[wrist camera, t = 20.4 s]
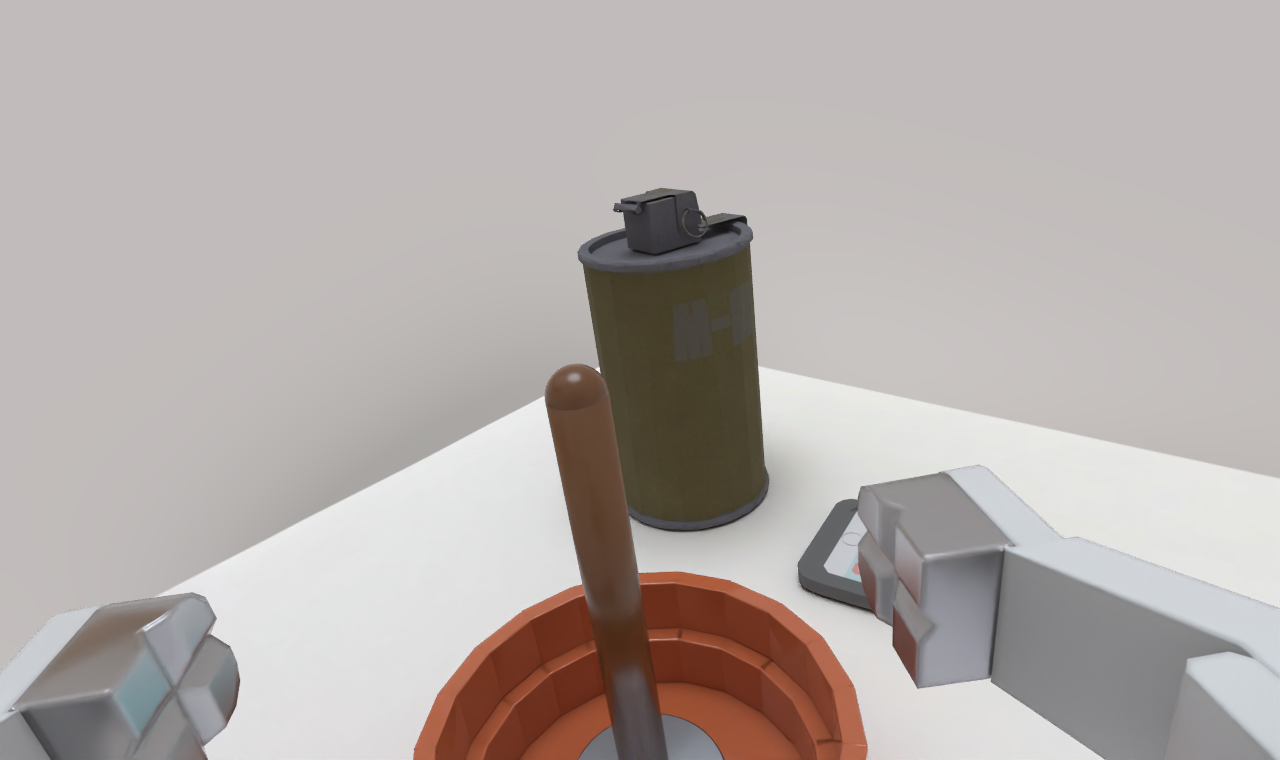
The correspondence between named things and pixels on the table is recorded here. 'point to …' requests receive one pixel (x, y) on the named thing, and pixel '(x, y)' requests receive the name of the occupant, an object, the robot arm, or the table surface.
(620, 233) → the canister
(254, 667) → the table surface
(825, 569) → the smartphone
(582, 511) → the peg on round base
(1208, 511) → the table surface
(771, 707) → the bowl
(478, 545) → the table surface
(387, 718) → the table surface
